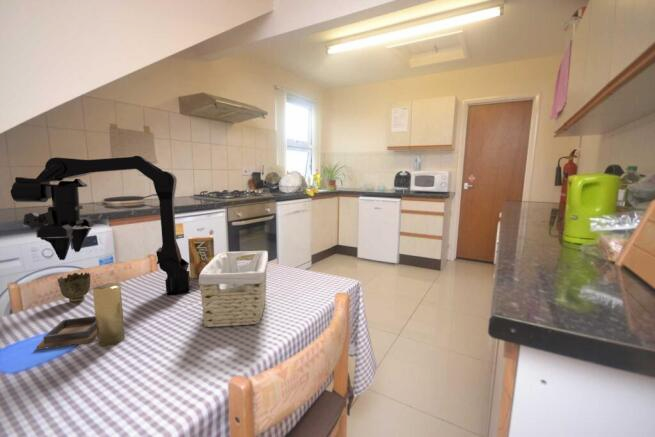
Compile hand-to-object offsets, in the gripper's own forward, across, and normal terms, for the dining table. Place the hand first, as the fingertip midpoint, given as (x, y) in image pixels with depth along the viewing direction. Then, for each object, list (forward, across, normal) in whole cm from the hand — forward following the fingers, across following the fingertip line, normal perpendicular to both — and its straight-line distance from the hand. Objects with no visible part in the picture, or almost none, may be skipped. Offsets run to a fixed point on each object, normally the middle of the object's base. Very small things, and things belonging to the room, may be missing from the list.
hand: (70, 255), depth 83 cm
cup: (+15, -1, 0) cm, 15 cm away
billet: (+14, +27, +17) cm, 35 cm away
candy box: (+14, -14, +35) cm, 40 cm away
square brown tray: (+14, +21, +8) cm, 27 cm away
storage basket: (+14, +20, +46) cm, 52 cm away
